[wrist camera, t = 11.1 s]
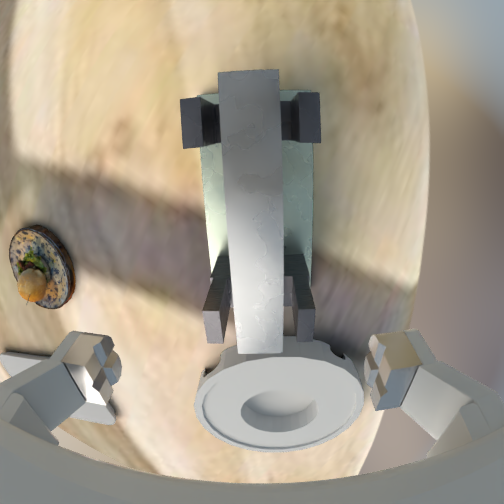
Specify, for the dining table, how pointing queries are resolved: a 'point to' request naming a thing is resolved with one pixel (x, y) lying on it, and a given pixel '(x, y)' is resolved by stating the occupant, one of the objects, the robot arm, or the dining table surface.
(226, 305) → the bracket stand
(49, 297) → the burger
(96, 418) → the tablet
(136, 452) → the dining table surface
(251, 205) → the rail
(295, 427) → the ashtray
